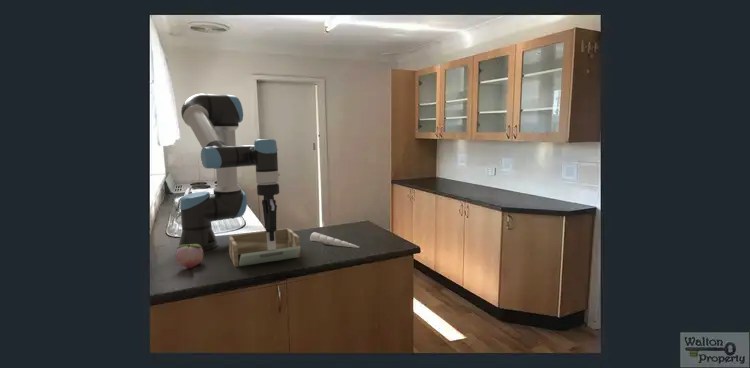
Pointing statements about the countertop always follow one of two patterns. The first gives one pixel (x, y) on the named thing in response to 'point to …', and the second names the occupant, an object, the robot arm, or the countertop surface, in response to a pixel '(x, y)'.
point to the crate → (260, 242)
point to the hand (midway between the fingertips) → (271, 249)
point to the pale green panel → (269, 255)
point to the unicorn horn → (330, 240)
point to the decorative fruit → (189, 255)
